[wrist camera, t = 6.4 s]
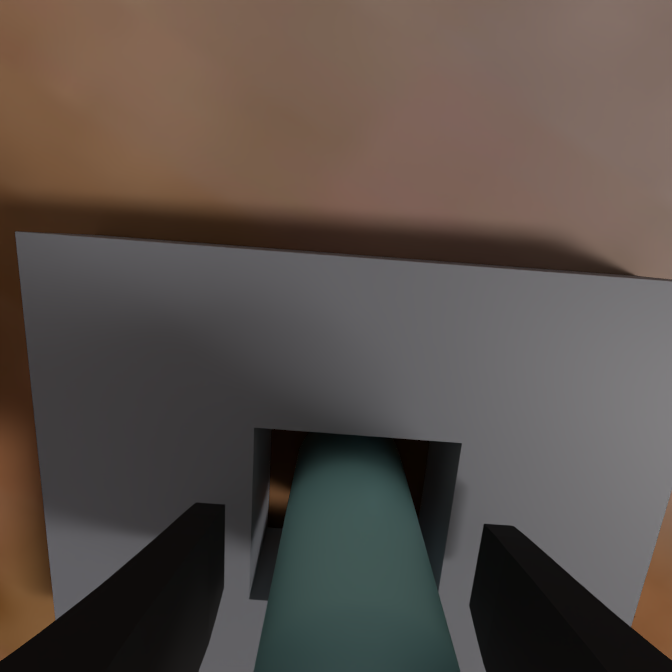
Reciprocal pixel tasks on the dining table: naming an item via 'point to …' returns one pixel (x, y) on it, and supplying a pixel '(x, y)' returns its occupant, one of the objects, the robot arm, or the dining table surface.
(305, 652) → the peg
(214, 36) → the dining table surface
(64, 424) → the peg block
